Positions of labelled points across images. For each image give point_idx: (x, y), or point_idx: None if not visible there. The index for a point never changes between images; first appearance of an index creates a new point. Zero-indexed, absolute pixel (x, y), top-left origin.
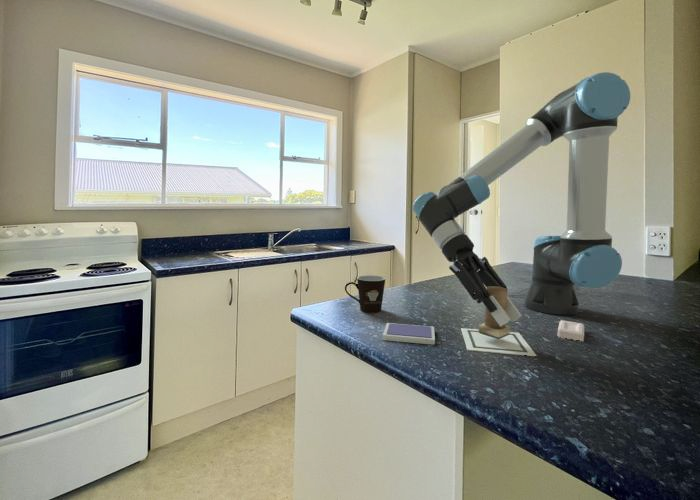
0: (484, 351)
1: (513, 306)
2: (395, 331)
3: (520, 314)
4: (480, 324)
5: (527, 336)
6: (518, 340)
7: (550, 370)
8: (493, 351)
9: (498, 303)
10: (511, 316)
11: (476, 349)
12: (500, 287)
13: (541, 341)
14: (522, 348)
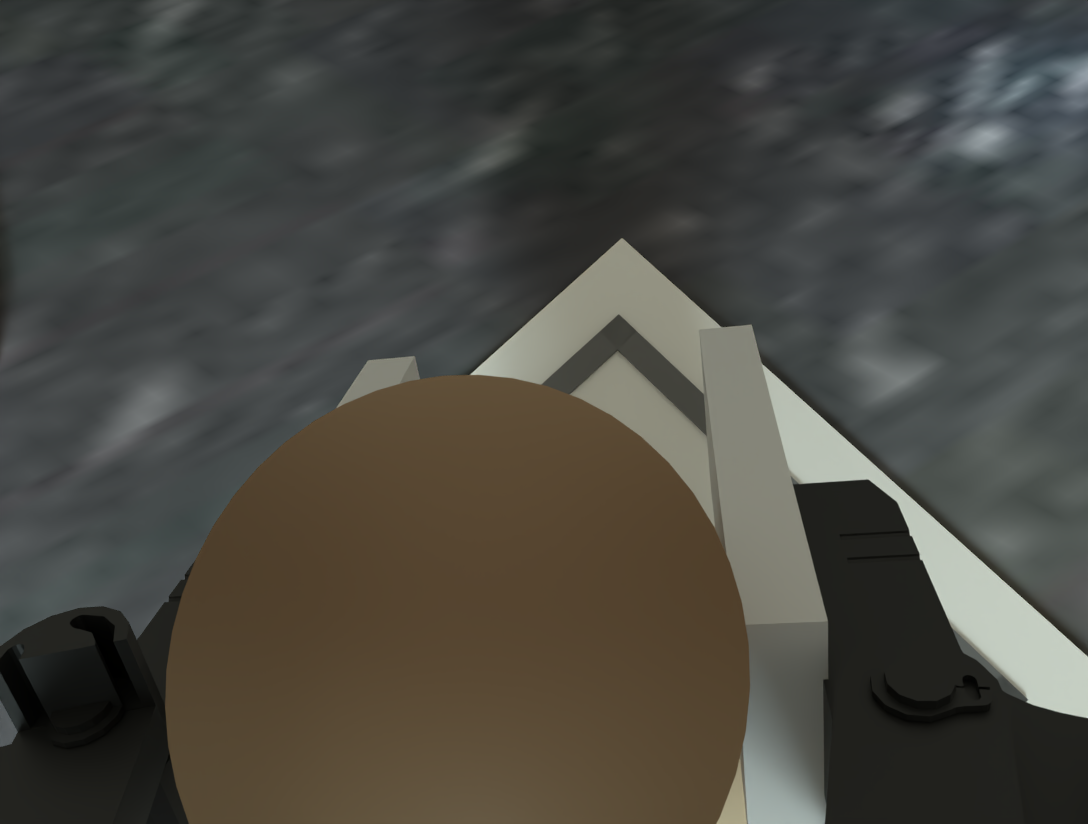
0: (981, 566)
1: None
2: None
3: (377, 369)
4: None
5: (186, 553)
6: None
7: (787, 60)
8: (905, 502)
9: (734, 482)
10: None
11: (1038, 641)
12: (241, 671)
13: (222, 406)
14: (575, 385)
